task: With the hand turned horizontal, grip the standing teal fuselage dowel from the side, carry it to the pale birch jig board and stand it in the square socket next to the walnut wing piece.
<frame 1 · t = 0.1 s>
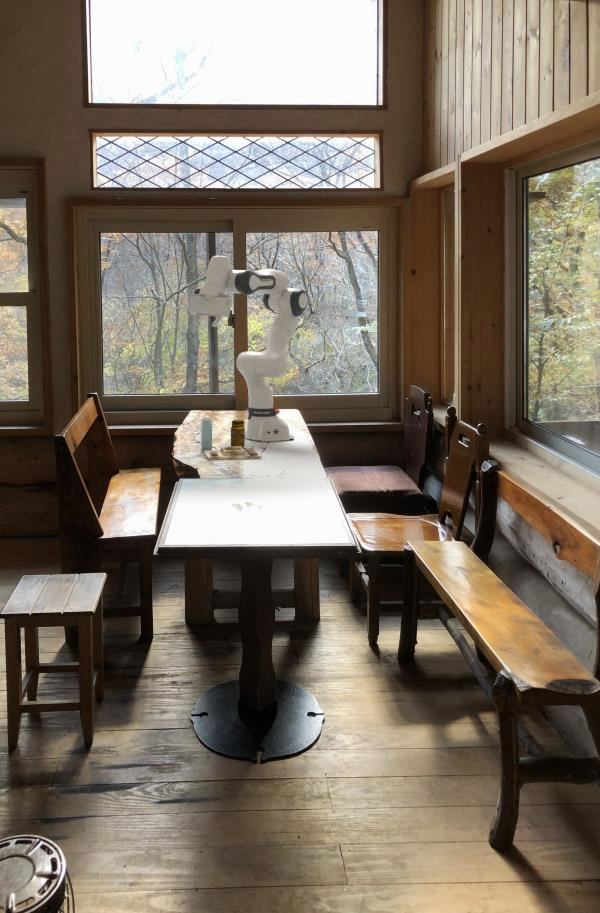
hand: (205, 325, 377), 52 cm above the table, tool tilted 20°, fingers open, 8 cm apart
fuselage: (206, 450, 386), on the table
jig: (232, 455, 377), on the table
condiment: (235, 448, 393), on the table
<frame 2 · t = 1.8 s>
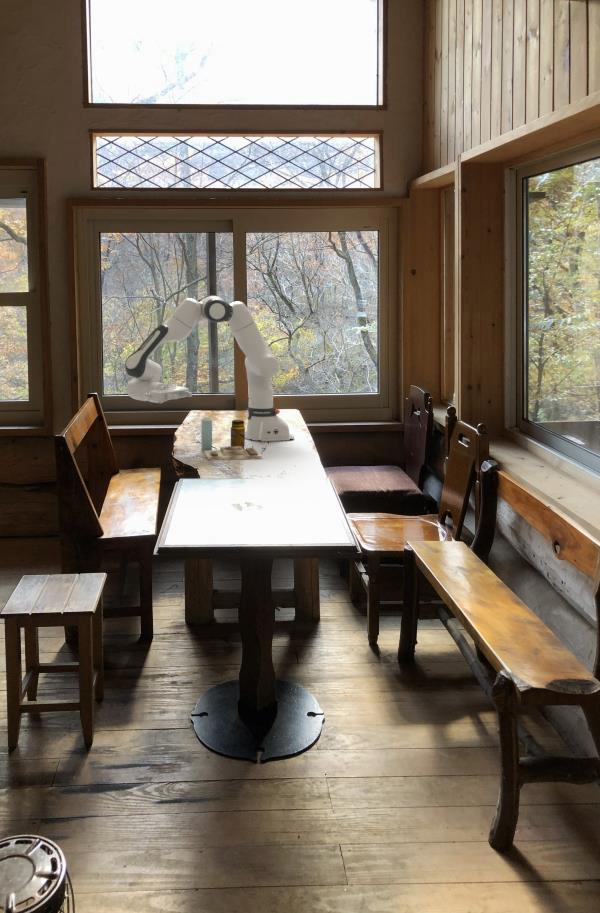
hand: (184, 396, 388), 22 cm above the table, tool horizontal, fingers open, 8 cm apart
nothing on the table moved.
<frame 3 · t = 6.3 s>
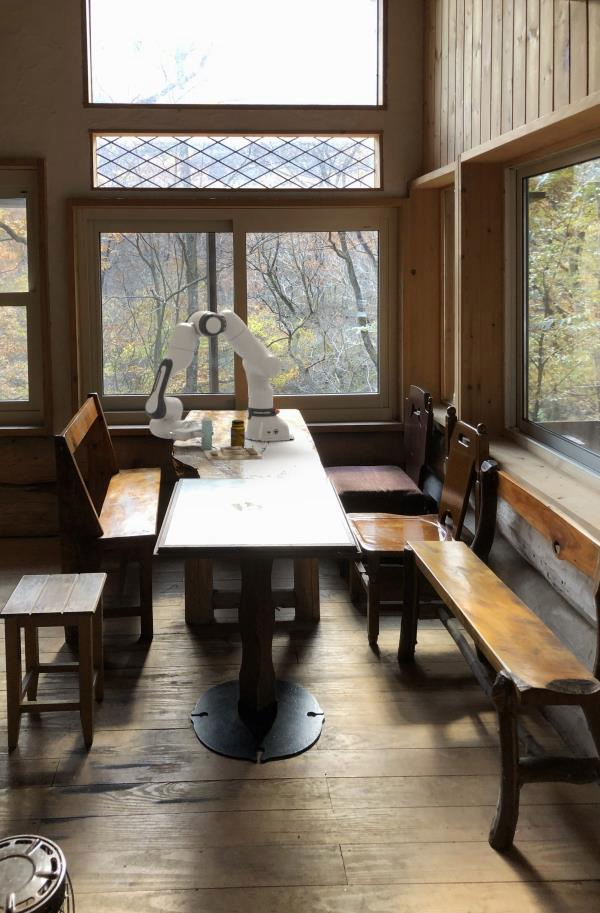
hand: (208, 434, 384), 7 cm above the table, tool horizontal, fingers closed on fuselage, 4 cm apart
fuselage: (206, 450, 386), on the table, touching gripper
everything else where it was.
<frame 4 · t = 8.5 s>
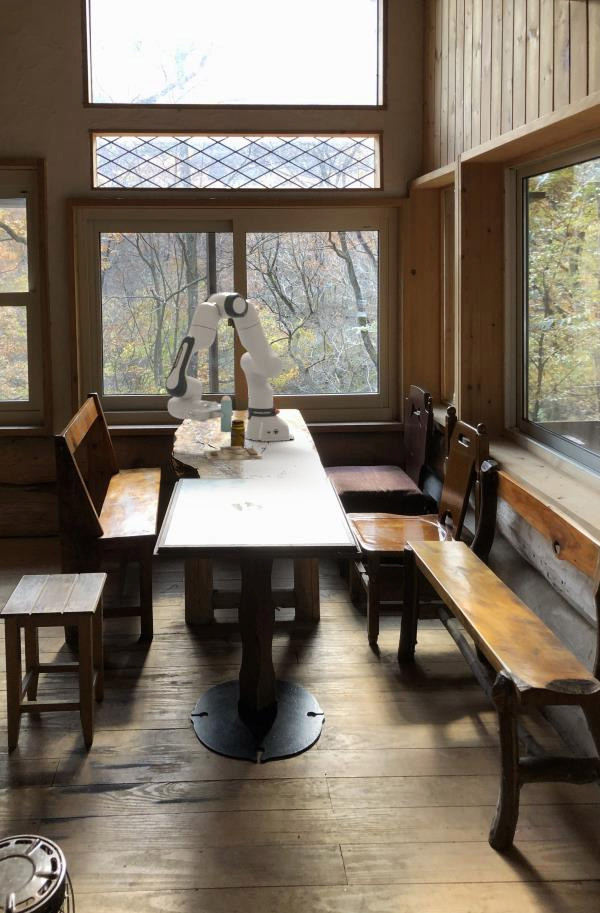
hand: (228, 414, 375), 17 cm above the table, tool horizontal, fingers closed on fuselage, 4 cm apart
fuselage: (225, 431, 377), point 10 cm above the table, touching gripper
everything else where it was.
when the fingers open (10 cm above the table, at t = 10.9 s): fuselage drops 1 cm, resting on jig.
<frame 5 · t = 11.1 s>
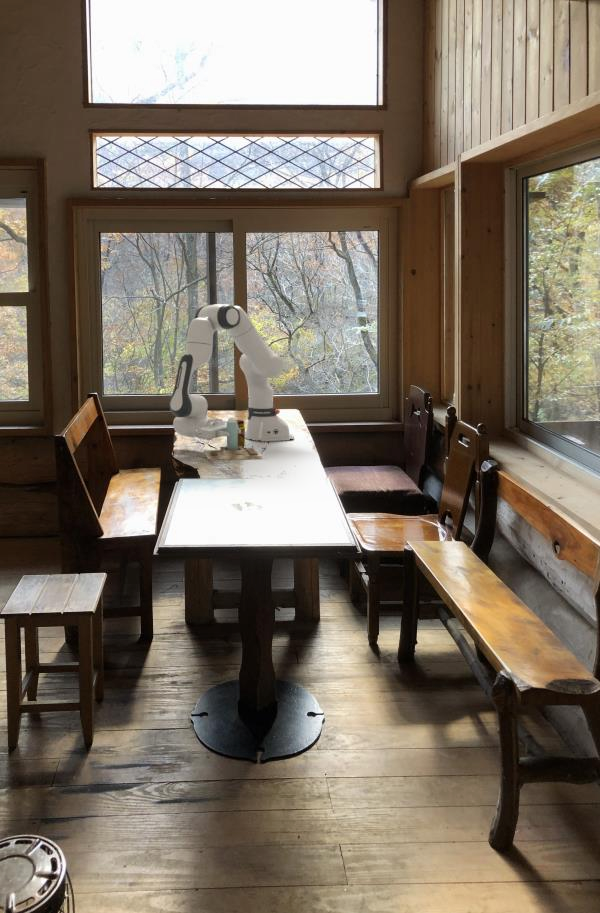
hand: (234, 433, 374), 10 cm above the table, tool horizontal, fingers open, 6 cm apart
fuselage: (232, 452, 376), point 1 cm above the table, touching jig
everything else where it was.
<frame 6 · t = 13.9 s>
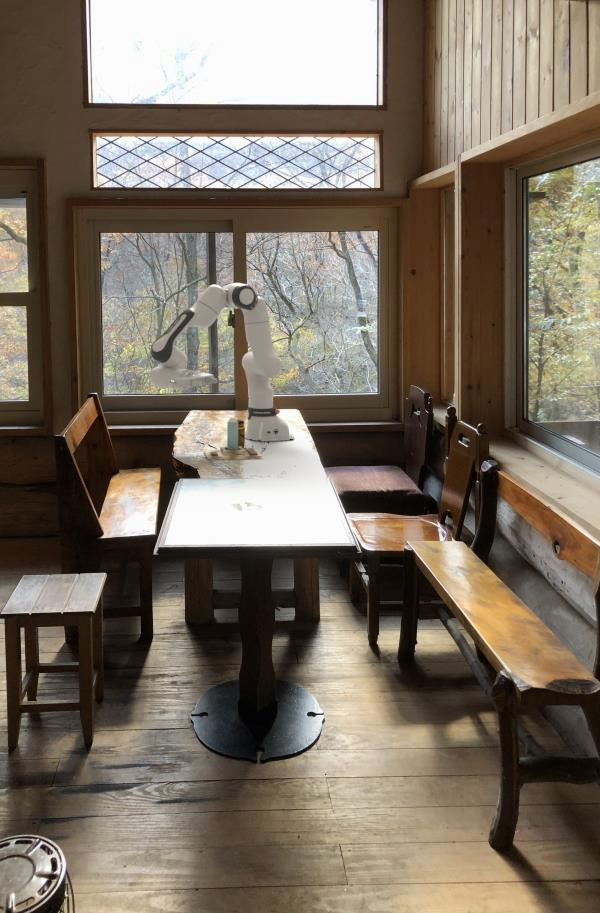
hand: (209, 382, 377), 29 cm above the table, tool horizontal, fingers open, 8 cm apart
nothing on the table moved.
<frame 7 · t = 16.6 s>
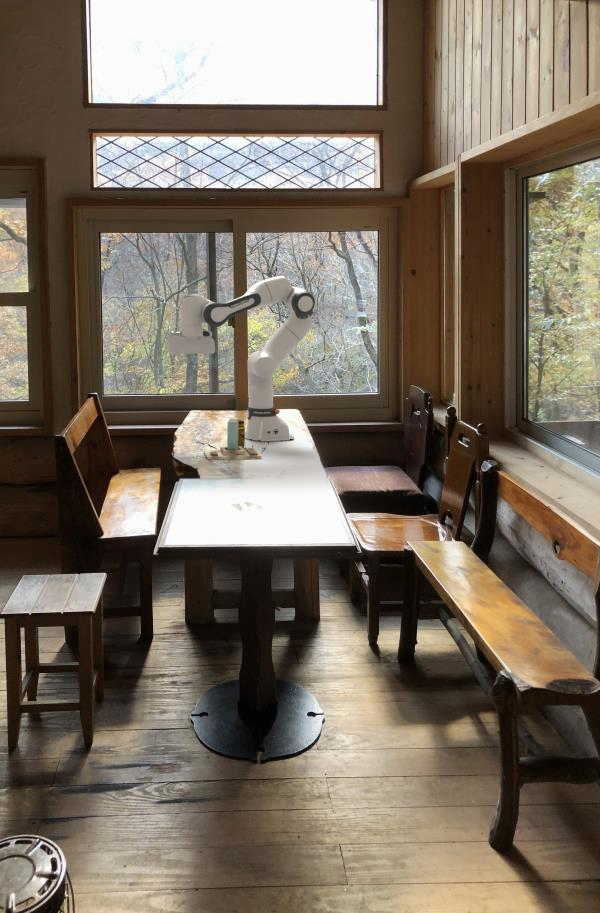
hand: (191, 364, 398), 34 cm above the table, tool pointing down, fingers open, 8 cm apart
nothing on the table moved.
at the end: fuselage 0.0 cm off-centre on the jig, point 1.2 cm above the jig's base; fuselage tilted 0°; the gripper is holding nothing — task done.
